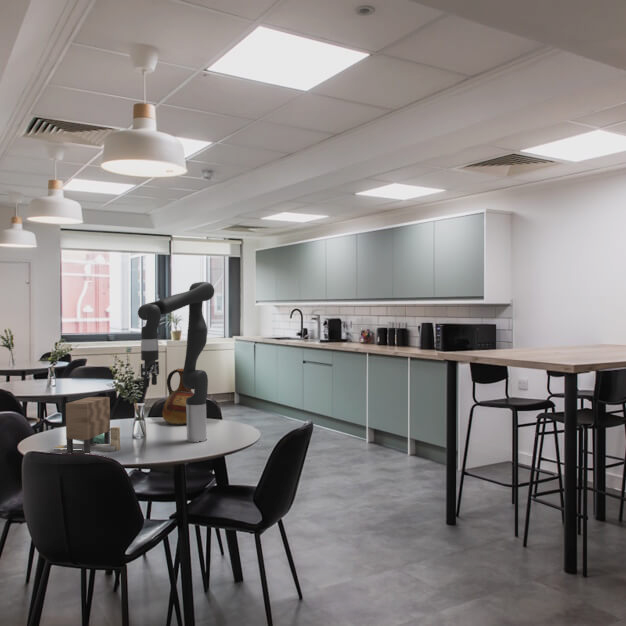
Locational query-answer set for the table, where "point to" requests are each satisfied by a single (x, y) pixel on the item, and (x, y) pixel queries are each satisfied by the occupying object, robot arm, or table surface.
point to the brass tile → (60, 446)
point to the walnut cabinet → (87, 421)
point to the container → (99, 439)
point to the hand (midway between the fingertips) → (150, 385)
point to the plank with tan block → (104, 447)
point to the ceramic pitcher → (176, 401)
